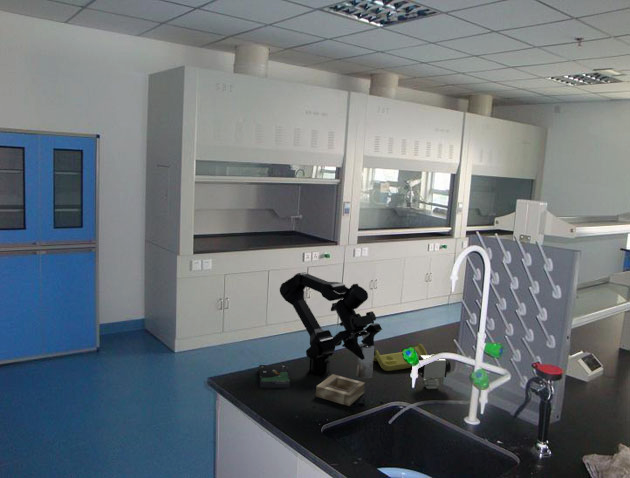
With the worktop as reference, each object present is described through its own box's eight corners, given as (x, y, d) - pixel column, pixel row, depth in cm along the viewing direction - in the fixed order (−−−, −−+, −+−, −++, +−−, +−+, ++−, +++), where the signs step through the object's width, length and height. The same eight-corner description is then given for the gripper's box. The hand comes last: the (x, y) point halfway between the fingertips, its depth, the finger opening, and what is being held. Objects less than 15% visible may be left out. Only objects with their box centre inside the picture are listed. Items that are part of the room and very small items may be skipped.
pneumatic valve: (448, 390, 178) (452, 357, 176) (416, 390, 176) (419, 357, 174) (442, 383, 183) (445, 351, 182) (411, 383, 181) (414, 351, 180)
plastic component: (384, 366, 190) (374, 347, 198) (380, 380, 194) (370, 360, 202) (431, 359, 196) (419, 340, 204) (426, 372, 200) (415, 353, 208)
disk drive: (258, 372, 186) (259, 389, 171) (258, 364, 185) (260, 381, 171) (286, 371, 187) (290, 388, 173) (287, 364, 187) (291, 380, 172)
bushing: (353, 374, 169) (356, 345, 167) (363, 370, 172) (365, 342, 171) (365, 379, 165) (367, 350, 164) (375, 376, 169) (377, 346, 167)
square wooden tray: (315, 396, 167) (316, 385, 166) (332, 383, 177) (332, 373, 177) (349, 406, 161) (350, 395, 161) (364, 392, 172) (364, 382, 171)
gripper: (340, 307, 162) (363, 352, 156) (380, 300, 175) (402, 341, 168) (322, 324, 169) (343, 367, 163) (361, 316, 182) (382, 356, 175)
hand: (368, 357), depth 167 cm, fingers closed on bushing, 5 cm apart
